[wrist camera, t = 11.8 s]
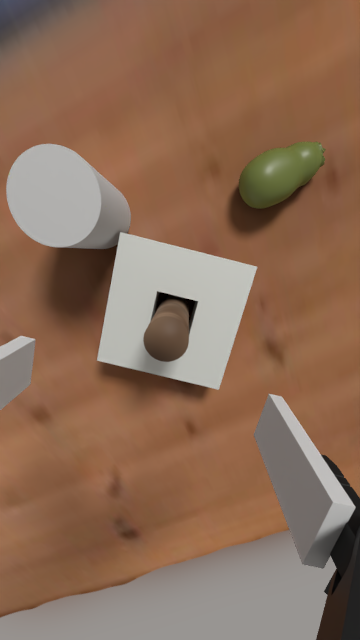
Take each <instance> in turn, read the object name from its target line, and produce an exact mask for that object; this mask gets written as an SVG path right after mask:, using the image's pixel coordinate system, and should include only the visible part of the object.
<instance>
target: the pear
mask: <svg viewBox="0 0 360 640" xmlns="http://www.w3.org/2000/svg"><path fill="white" fill-rule="evenodd" d="M323 150H324V151H325V149H324V148H322V145H321V143H318V142H313V143H312V142H299V143H295V144H293V145H290V146H288V147H287V148H274V149H271V150H268V151H266V152H264V153H262V154H260V155H259V156H257V157H256V158H255V159H253V160H252V161H251V162H250V163H249V164H248V165H247V166H246V167H245V168H244V170H243V171H242V173H241V175H240V179H239V191H240V195H241V197H242V199H243V200H244V202H245V203H246V204H247V205H249V206H250V207H253V208H257V209H262V208H267V207H270V206H273V205H275V204H278V203H280V202H281V201H283V200H285V199H286V198H288V197H289V196H290V195H291V194H292V193H293V192H294V191H295V190H296V189H297V188H298V187H300V186H303V185H305V184H306V183H307V182H308V181H309V180H310V179H311V178H312V177H313V176H314V175H315V173H316V172H317V171H318V169H319V168H320V167H321V166H322V165H324V161H325V158H324V156H322V155H323V153H324V151H323Z"/></svg>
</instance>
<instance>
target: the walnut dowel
mask: <svg viewBox="0 0 360 640" xmlns="http://www.w3.org/2000/svg"><path fill="white" fill-rule="evenodd" d="M143 342H144V346H145V349H146V351H147V352H148V353H149V355H150V356H152V357H153V358H154V359H156V360H159V361H163V362H170V361H174V360H177V359H179V358H180V357H181V356H182V355H183V354H184V353H185V352H186V350H187V348H188V344H189V306H188V303H187V301H186V299H185V298H183V297H179V296H175V295H168V296H166V297H165V298H164V299H163V300H162V302H161V304H160V305H159V307H158V309H157V311H156V313H155V314H154V316H153V318H152V320H151V322H150V323H149V325H148V327H147V329H146V331H145V333H144V338H143Z"/></svg>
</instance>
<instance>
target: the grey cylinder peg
mask: <svg viewBox="0 0 360 640" xmlns="http://www.w3.org/2000/svg"><path fill="white" fill-rule="evenodd" d="M7 200H8V205H9V208H10V211H11V213H12V216H13V217H14V219H15V221H16V223H17V224H18V225H19V227H20V228H21V229H22V230H23V231H24V232H25V233H26V234H27V235H28V236H29V237H31V238H32V239H34V240H35V241H37V242H39V243H41V244H44V245H47V246H51V247H63V248H86V249H108V248H111V247H114V246H116V245H117V244H118V242H119V236H120V232H122V233H126V234H127V233H128V230H129V227H130V222H131V214H130V208H129V205H128V203H127V201H126V199H125V197H124V196H123V195H122V193H121V192H120V191H119V190H117V189H116V188H115V187H114V186H113V185H112V184H111V183H110V182H109V181H107V180H106V179H105V178H104V177H103V176H102V175H101V174H100V173H99V172H97V171H96V170H95V169H94V168H93V167H92V166H91V165H90V164H88V163H87V162H86V161H85V160H84V159H83V158H82V157H81V156H79V155H78V154H77V153H75V152H74V151H72V150H70V149H68V148H66V147H63V146H60V145H56V144H42V145H37V146H34V147H32V148H30V149H28V150H26V151H25V152H24V153H22V154H21V155H20V156H19V157H18V158H17V159H16V161H15V162H14V164H13V166H12V168H11V170H10V172H9V175H8V180H7Z"/></svg>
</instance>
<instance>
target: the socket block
mask: <svg viewBox="0 0 360 640" xmlns="http://www.w3.org/2000/svg"><path fill="white" fill-rule="evenodd" d="M256 269H257V267H256V266H252V265H248V264H244V263H240V262H236V261H232V260H228V259H224V258H220V257H217V256H213V255H209V254H205V253H201V252H197V251H193V250H189V249H185V248H181V247H177V246H173V245H169V244H166V243H162V242H158V241H154V240H150V239H146V238H142V237H138V236H134V235H130V234H126V233H122V232H120V236H119V242H118V247H117V253H116V258H115V264H114V269H113V275H112V280H111V286H110V292H109V297H108V303H107V308H106V314H105V319H104V325H103V330H102V336H101V341H100V347H99V353H98V358H97V361H101V362H105V363H110V364H114V365H118V366H122V367H126V368H130V369H135V370H139V371H143V372H147V373H151V374H156V375H160V376H164V377H168V378H172V379H176V380H181V381H185V382H189V383H193V384H197V385H201V386H206V387H210V388H214V389H218V390H219V387H220V384H221V381H222V378H223V374H224V371H225V368H226V365H227V362H228V358H229V355H230V352H231V349H232V346H233V343H234V339H235V336H236V333H237V330H238V327H239V323H240V320H241V317H242V314H243V311H244V307H245V304H246V301H247V298H248V295H249V292H250V288H251V285H252V282H253V279H254V276H255V272H256ZM160 292H163V293H167V294H171V295H175V296H179V297H183V298H187V299H191V300H195V304H194V308H193V312H192V315H191V319H190V323H189V344H188V348H187V350H186V352H185V353H184V354H183V355H182V356H181V357H180V358H179V359H177V360H174V361H170V362H163V361H159V360H156V359H154V358H153V357H152V356H150V355H149V353H148V352H147V351H146V349H145V346H144V342H143V338H144V333H145V331H146V329H147V327H148V325H149V323H150V322H151V320H152V318H153V316H154V314H155V312H156V307H157V303H158V299H159V294H160Z"/></svg>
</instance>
